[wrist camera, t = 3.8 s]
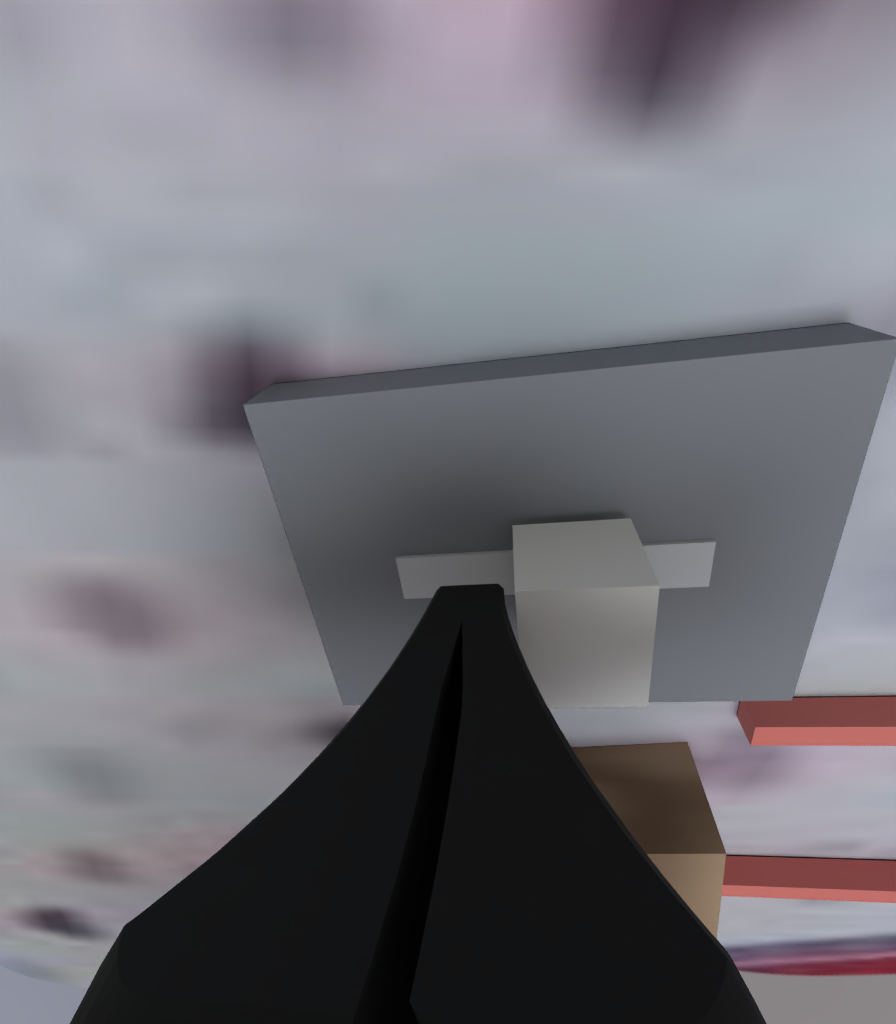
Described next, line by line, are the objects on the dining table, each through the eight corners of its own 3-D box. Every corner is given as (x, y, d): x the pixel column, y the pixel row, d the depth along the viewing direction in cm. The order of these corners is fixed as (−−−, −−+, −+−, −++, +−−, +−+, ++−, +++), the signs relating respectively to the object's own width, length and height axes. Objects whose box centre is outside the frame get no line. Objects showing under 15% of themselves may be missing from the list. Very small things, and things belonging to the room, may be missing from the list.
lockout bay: (702, 866, 20) (711, 895, 19) (740, 698, 15) (755, 727, 14) (968, 874, 19) (991, 906, 18) (1100, 694, 14) (1140, 726, 13)
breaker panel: (356, 665, 16) (342, 708, 15) (271, 384, 12) (240, 406, 10) (765, 656, 14) (793, 704, 13) (848, 322, 10) (905, 340, 8)
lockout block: (547, 825, 20) (555, 934, 17) (532, 744, 17) (538, 854, 14) (682, 823, 19) (716, 938, 16) (685, 737, 17) (726, 853, 14)
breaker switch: (520, 631, 12) (524, 708, 10) (512, 525, 11) (514, 591, 9) (624, 628, 12) (647, 707, 10) (630, 518, 10) (659, 585, 8)
